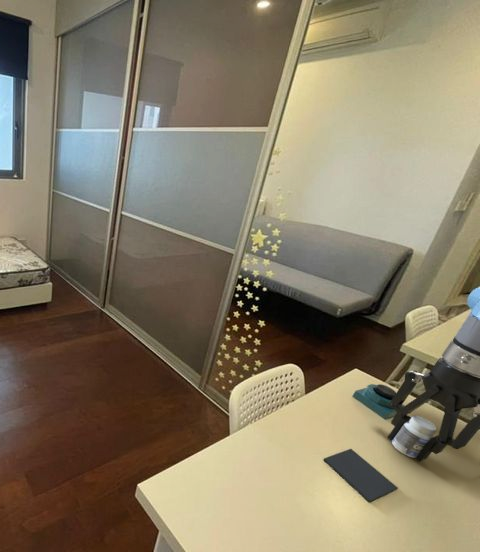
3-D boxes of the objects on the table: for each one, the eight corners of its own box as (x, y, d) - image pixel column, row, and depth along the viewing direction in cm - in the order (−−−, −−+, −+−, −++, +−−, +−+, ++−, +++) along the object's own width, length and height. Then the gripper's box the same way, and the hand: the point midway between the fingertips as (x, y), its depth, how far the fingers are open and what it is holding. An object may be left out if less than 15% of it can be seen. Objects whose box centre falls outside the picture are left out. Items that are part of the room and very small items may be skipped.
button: (396, 399, 84) (400, 393, 83) (387, 401, 82) (391, 396, 81) (379, 388, 87) (382, 383, 86) (370, 390, 86) (373, 385, 85)
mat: (397, 489, 64) (398, 487, 64) (369, 502, 61) (370, 501, 61) (350, 449, 72) (351, 448, 71) (323, 459, 68) (324, 458, 68)
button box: (403, 413, 84) (411, 402, 82) (384, 419, 81) (392, 408, 80) (369, 391, 91) (376, 380, 89) (351, 396, 88) (358, 385, 86)
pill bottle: (409, 460, 70) (430, 433, 67) (386, 441, 74) (404, 415, 71) (424, 456, 72) (445, 429, 68) (400, 438, 76) (419, 412, 72)
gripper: (402, 343, 70) (354, 420, 79) (525, 405, 55) (448, 490, 64) (421, 339, 72) (373, 414, 82) (544, 396, 57) (467, 480, 67)
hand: (406, 447), depth 73 cm, fingers closed on pill bottle, 5 cm apart
